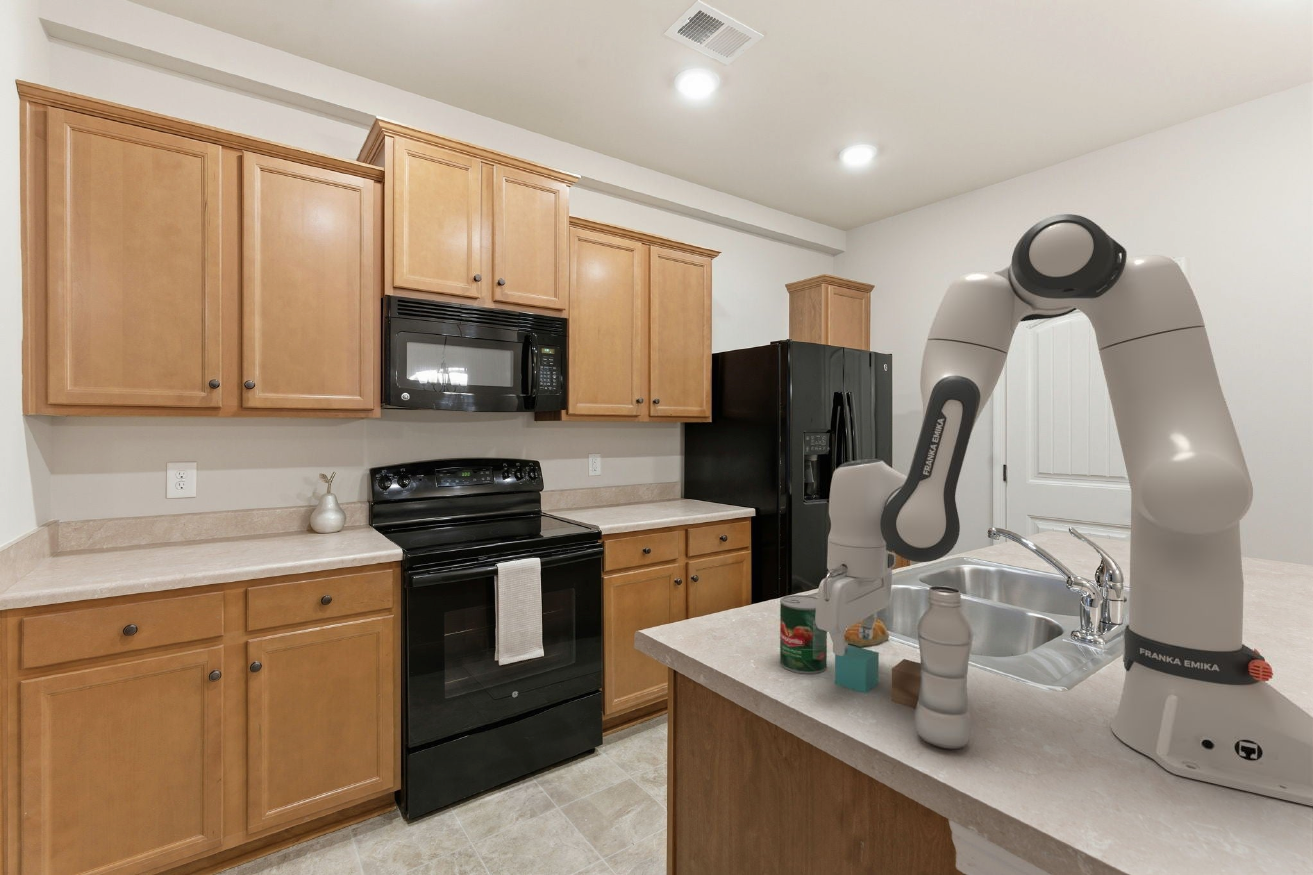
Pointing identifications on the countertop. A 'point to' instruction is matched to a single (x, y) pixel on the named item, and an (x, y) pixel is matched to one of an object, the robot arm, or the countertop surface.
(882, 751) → the countertop surface
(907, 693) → the walnut block
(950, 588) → the plastic bottle
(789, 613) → the canned tomato
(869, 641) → the pastry
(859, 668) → the teal block
